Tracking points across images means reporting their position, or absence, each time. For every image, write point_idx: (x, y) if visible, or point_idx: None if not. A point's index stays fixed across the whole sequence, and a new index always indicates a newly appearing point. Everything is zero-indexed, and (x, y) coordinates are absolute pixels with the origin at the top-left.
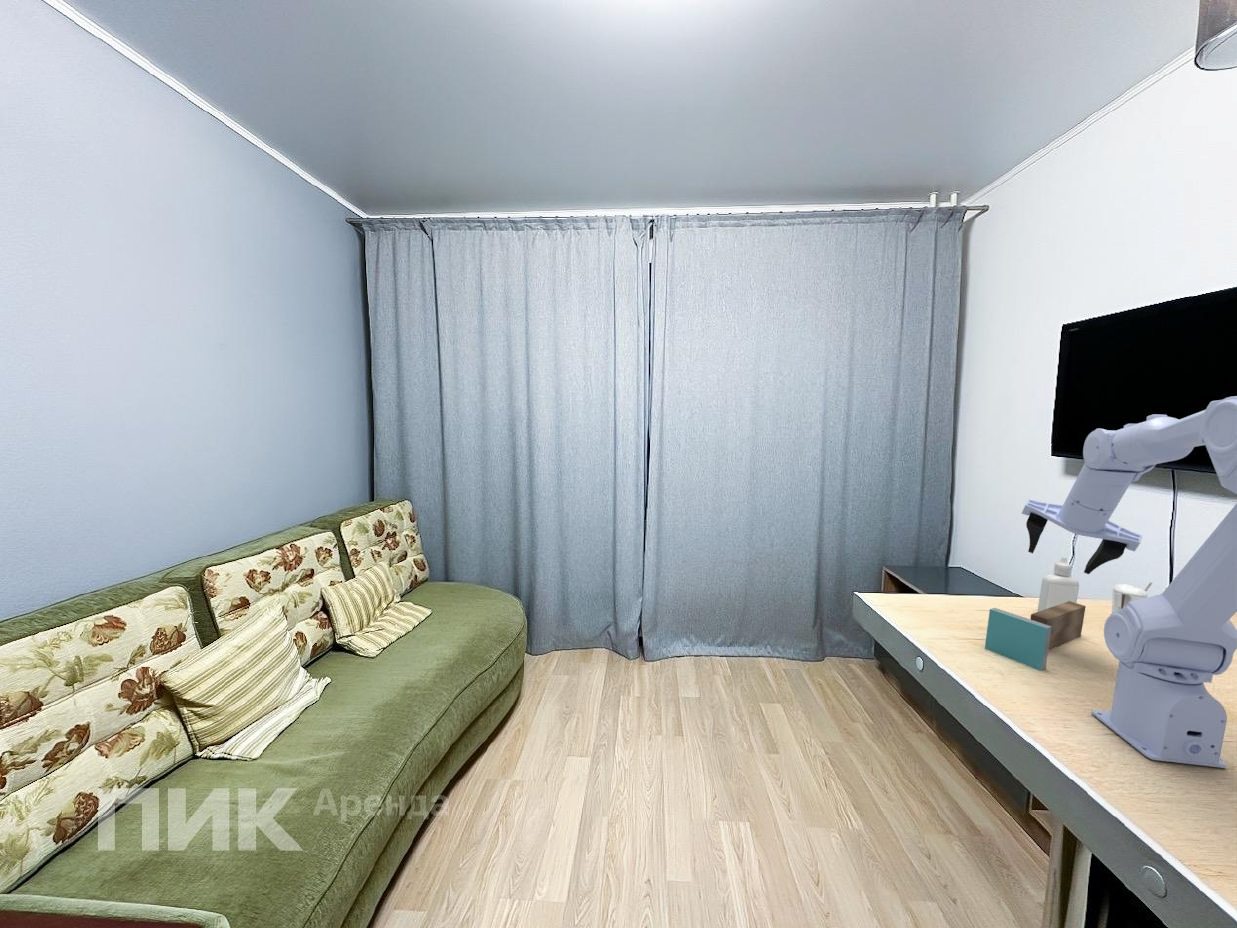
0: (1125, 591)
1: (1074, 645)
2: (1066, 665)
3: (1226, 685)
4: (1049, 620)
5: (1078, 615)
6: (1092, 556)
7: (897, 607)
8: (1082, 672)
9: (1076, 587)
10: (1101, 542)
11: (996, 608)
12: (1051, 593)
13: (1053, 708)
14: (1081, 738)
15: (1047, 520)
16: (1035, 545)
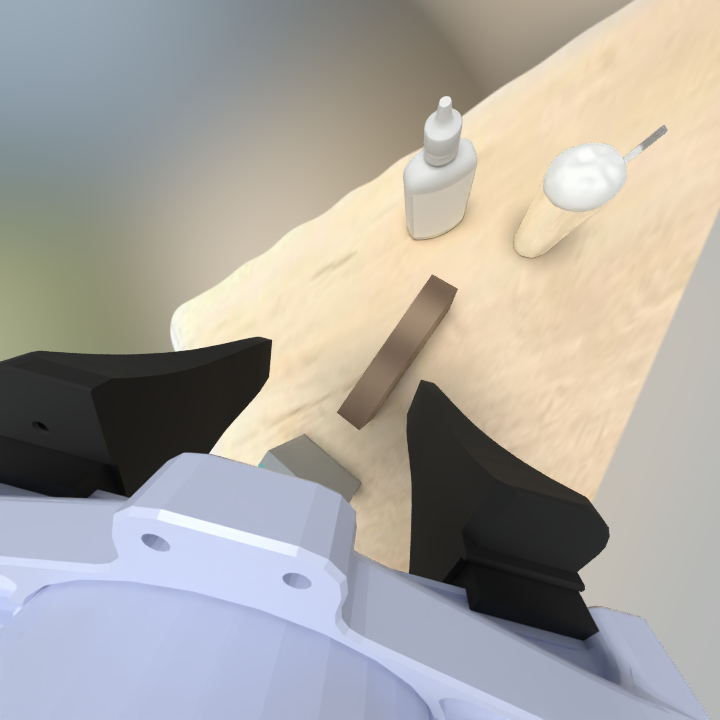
0: (566, 202)
1: (427, 358)
2: (393, 454)
3: (628, 414)
4: (363, 424)
5: (438, 318)
6: (429, 408)
7: (208, 339)
8: (408, 471)
9: (469, 175)
10: (453, 464)
11: (270, 453)
12: (418, 210)
13: None
14: None
15: (125, 492)
16: (240, 410)
